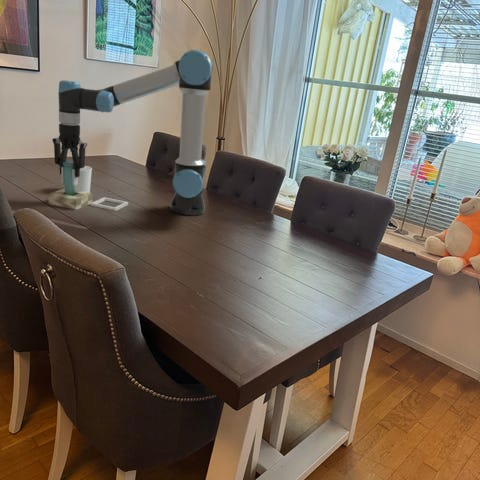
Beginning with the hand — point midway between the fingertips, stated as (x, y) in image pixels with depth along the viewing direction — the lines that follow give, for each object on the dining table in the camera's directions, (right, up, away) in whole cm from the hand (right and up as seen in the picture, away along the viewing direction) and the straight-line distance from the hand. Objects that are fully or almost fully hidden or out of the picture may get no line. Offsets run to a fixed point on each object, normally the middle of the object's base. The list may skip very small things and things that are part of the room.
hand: (69, 183), depth 177 cm
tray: (+14, -9, +8) cm, 18 cm away
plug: (-1, -5, +2) cm, 6 cm away
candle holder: (-3, -3, +19) cm, 19 cm away
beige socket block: (-1, -8, +3) cm, 9 cm away
